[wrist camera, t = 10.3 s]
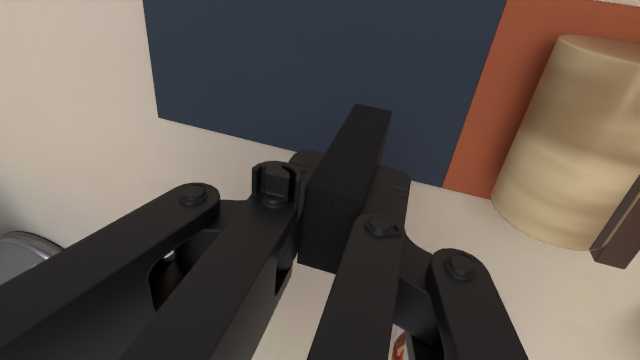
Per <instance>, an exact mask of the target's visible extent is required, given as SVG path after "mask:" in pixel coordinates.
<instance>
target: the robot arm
mask: <svg viewBox="0 0 640 360" xmlns="http://www.w3.org/2000/svg"><path fill="white" fill-rule="evenodd" d="M391 115H392V111H389V110H384V109H380V108H375V107H370V106H365V105H360V104H356V103H355V105H354V107H353V108H352V110H351V112H350V113H349V115H348V117H347V118H346V120H345V122H344V123H343V125H342V127H341V128H340V130H339V131H338V133H337V135H336V136H335V138H334V140H333V141H332V143H331V145H330V146H329V148H328V150H327V151H326V153H325V154H324V153H320V152H316V151H312V150H308V149H304V150H302V151H300V152H298V153H295V154H294V155H293V157H292V158H291V159H290V161H289V163H286V162H280V161H266V162H263V163H259V164H257V165H256V166H254V167H253V168H252V194H251V196H250V197H249V198H248V199H247V200H240V201H235V200H220V194H219V192H218V190H217V189H216V188H214V187H213V186H212V185H208V184H205V183H188V184H183V185H181V186H178V187H176V188H174V189H172V190H170V191H168V192H167V193H165V194H163V195H161V196H159V197H158V198H156V199H154V200H152V201H150V202H149V203H147V204H145V205H143V206H141V207H140V208H138V209H136V210H134V211H132V212H131V213H129V214H127V215H125V216H123V217H122V218H120V219H118V220H116V221H114V222H113V223H111V224H109V225H107V226H105V227H104V228H102V229H100V230H98V231H96V232H95V233H93V234H91V235H89V236H87V237H86V238H84V239H82V240H80V241H79V242H77V243H75V244H73V245H71V246H70V247H68V248H66V249H64V250H62V249H61V248H59V247H58V246H56V245H54V244H53V243H51V242H49V241H47V240H45V239H43V238H40V237H38V236H35V235H32V234H29V233H24V232H9V233H6V234H4V235H3V236H1V237H0V360H251V359H252V357H253V355H254V353H255V350H256V348H257V346H258V344H259V342H260V340H261V338H262V336H263V334H264V332H265V329H266V327H267V325H268V323H269V321H270V319H271V317H272V315H273V313H274V311H275V308H276V306H277V304H278V302H279V300H280V298H281V296H282V294H283V292H284V289H285V287H286V285H287V283H288V281H289V279H290V277H291V273H292V266H293V261H294V259H295V257H296V255H297V253H298V258H297V263H299V264H302V265H306V266H309V267H313V268H316V269H319V270H323V271H326V272H330V273H333V274H336V276H335V279H334V282H333V285H332V287H331V290H330V293H329V296H328V299H327V302H326V305H325V308H324V311H323V314H322V317H321V319H320V322H319V325H318V328H317V331H316V334H315V337H314V340H313V343H312V346H311V348H310V351H309V354H308V357H307V360H388V354H389V347H390V340H391V333H392V326H393V324H395V325H397V326H398V327H400V328H401V329H403V330H405V341H406V347H407V353H408V359H409V360H529V359H528V357H527V355H526V353H525V351H524V348H523V346H522V344H521V342H520V340H519V337H518V335H517V333H516V331H515V329H514V326H513V324H512V322H511V320H510V318H509V316H508V313H507V311H506V309H505V307H504V305H503V302H502V300H501V298H500V296H499V294H498V291H497V289H496V287H495V285H494V283H493V281H492V278H491V276H490V274H489V272H488V270H487V269H486V267H485V266H484V265H483V263H482V262H480V261H479V260H478V259H477V258H476V257H474V256H473V255H471V254H468V253H466V252H464V251H461V250H457V249H453V248H448V249H441V250H438V251H436V252H435V253H434V254H433V255H432V254H431V253H429V252H427V251H425V250H423V249H421V248H420V247H418V246H416V245H415V244H414V243H413V242H412V241H411V240H410V239H409V238H408V236H407V235H406V232H405V228H404V224H405V217H406V211H407V204H408V197H409V190H410V183H411V180H410V178H409V177H408V175H407V173H406V172H405V171H401V170H397V169H393V168H388V167H384V166H380V163H381V158H382V154H383V150H384V145H385V141H386V137H387V132H388V128H389V124H390V119H391ZM171 251H174V253H173V254H172V255H171V256H169V257H167V258H165V259H164V256H166V255H167V254H168V253H170V252H171Z"/></svg>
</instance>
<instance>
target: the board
mask: <svg viewBox="0 0 640 360" xmlns="http://www.w3.org/2000/svg"><path fill="white" fill-rule="evenodd" d="M143 7H144V14H145V21H146V29H147V36H148V44H149V51H150V59H151V66H152V74H153V81H154V88H155V96H156V103H157V111H158V117H159V118H163V119H167V120H171V121H175V122H179V123H183V124H187V125H191V126H195V127H199V128H203V129H207V130H211V131H215V132H219V133H223V134H227V135H231V136H235V137H239V138H243V139H247V140H251V141H255V142H259V143H263V144H267V145H271V146H275V147H279V148H284V149H288V150H292V151H296V152H300V151H302V150H304V149H308V150H312V151H316V152H320V153H324V154H325V153H326V151H327V150H328V148H329V146H330V145H331V143H332V141H333V140H334V138H335V136H336V135H337V133H338V131H339V130H340V128H341V127H342V125H343V123H344V122H345V120H346V118H347V117H348V115H349V113H350V112H351V110H352V108H353V107H354V105H355V103H356V104H360V105H365V106H370V107H375V108H380V109H384V110H389V111H392V115H391V119H390V124H389V128H388V132H387V137H386V141H385V145H384V150H383V154H382V158H381V163H380V166H384V167H388V168H393V169H397V170H401V171H405V172H406V173H407V175H408V177H409V178H410V180H413V181H417V182H421V183H425V184H429V185H433V186H437V187H442V188H445V189H449V190H453V191H457V192H461V193H465V194H469V195H473V196H477V197H481V198H485V199H489V200H491V192H492V189H493V187H494V185H495V182H496V180H497V178H498V175H499V173H500V171H501V169H502V166H503V164H504V162H505V159H506V157H507V155H508V152H509V150H510V148H511V145H512V143H513V141H514V138H515V136H516V134H517V132H518V129H519V127H520V125H521V122H522V120H523V118H524V115H525V113H526V111H527V108H528V106H529V104H530V101H531V99H532V97H533V94H534V92H535V90H536V88H537V85H538V83H539V81H540V78H541V76H542V74H543V71H544V69H545V67H546V64H547V62H548V60H549V57H550V55H551V53H552V51H553V48H554V46H555V44H556V41H557V39H558V37H559V36H562V35H588V36H597V37H604V38H611V39H617V40H623V41H629V42H634V43H639V44H640V7H635V6H628V5H621V4H614V3H607V2H600V1H593V0H143ZM639 250H640V198H639V199H638V201H637V202H636V204H635V205H634V207H633V208H632V209H631V211H630V212H629V214H628V215H627V217H626V218H625V219H624V221H623V222H622V224H621V225H620V226H619V228H618V229H617V231H616V232H615V234H614V235H613V236H612V238H611V239H610V241H609V242H608V243H607V244H606V245H605V246H603V247H601V248H599V249H596V250H589V251H590V253H591V255H592V257H593V259H594V261H595V262H598V263H602V264H605V265H609V266H613V267H617V268H620V269H625V268H626V267H627V266H628V264H629V263H630V262H631V261H632V259H633V258H634V257H635V255H636V254H637V253H638V252H639Z"/></svg>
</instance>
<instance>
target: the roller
mask: <svg viewBox="0 0 640 360" xmlns="http://www.w3.org/2000/svg"><path fill="white" fill-rule="evenodd" d="M639 198H640V44H639V43H634V42H629V41H623V40H617V39H611V38H604V37H597V36H588V35H562V36H559V37H558V39H557V41H556V44H555V46H554V48H553V51H552V53H551V55H550V57H549V60H548V62H547V64H546V67H545V69H544V71H543V74H542V76H541V78H540V81H539V83H538V85H537V88H536V90H535V92H534V94H533V97H532V99H531V101H530V104H529V106H528V108H527V111H526V113H525V115H524V118H523V120H522V122H521V125H520V127H519V129H518V132H517V134H516V136H515V138H514V141H513V143H512V145H511V148H510V150H509V152H508V155H507V157H506V159H505V162H504V164H503V166H502V169H501V171H500V173H499V175H498V178H497V180H496V182H495V185H494V187H493V189H492V192H491V201H492V204H493V206H494V207H495V209H496V210H497V212H498V213H499V214H500V215H501V216H502V217H503V218H504V219H505V220H506V221H508V222H509V223H510V224H511V225H513V226H514V227H516V228H517V229H519V230H520V231H522V232H524V233H526V234H527V235H529V236H531V237H533V238H536V239H538V240H540V241H543V242H545V243H548V244H551V245H554V246H557V247H561V248H566V249H571V250H580V251H589V250H596V249H599V248H601V247H603V246H605V245H606V244H607V243H608V242H609V241H610V239H611V238H612V236H613V235H614V234H615V232H616V231H617V229H618V228H619V226H620V225H621V224H622V222H623V221H624V219H625V218H626V217H627V215H628V214H629V212H630V211H631V209H632V208H633V207H634V205H635V204H636V202H637V201H638V199H639Z"/></svg>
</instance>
